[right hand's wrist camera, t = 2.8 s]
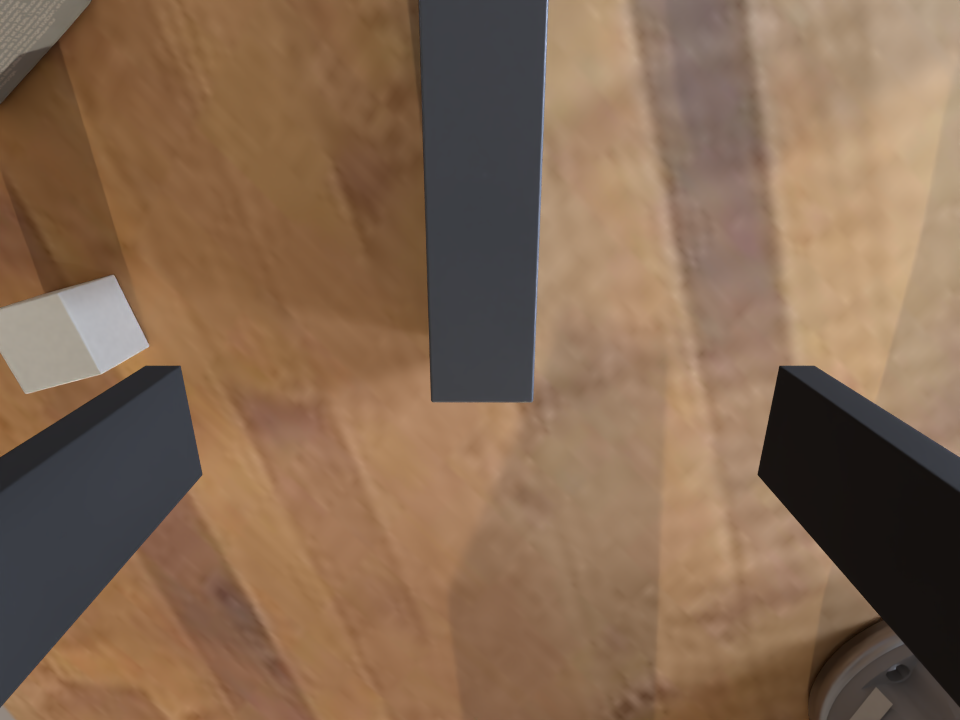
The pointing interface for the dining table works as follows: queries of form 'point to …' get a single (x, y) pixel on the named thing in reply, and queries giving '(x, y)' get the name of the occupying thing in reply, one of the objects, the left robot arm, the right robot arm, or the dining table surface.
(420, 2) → the bar
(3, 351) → the cube
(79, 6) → the hard drive box
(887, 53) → the dining table surface
